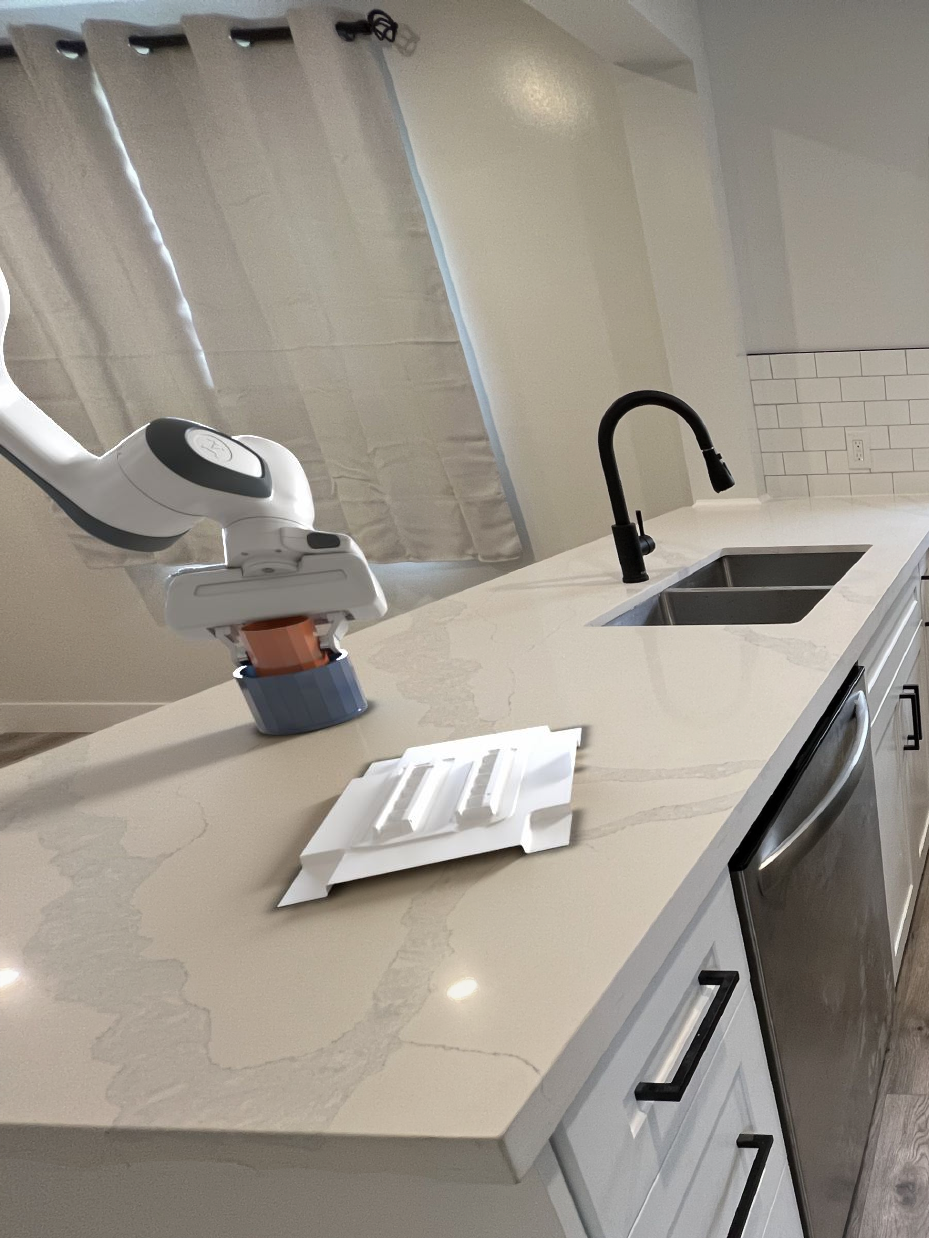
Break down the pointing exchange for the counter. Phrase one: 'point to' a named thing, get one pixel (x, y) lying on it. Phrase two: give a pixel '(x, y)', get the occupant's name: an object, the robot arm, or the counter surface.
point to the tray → (445, 807)
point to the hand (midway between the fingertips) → (288, 657)
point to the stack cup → (303, 696)
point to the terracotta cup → (283, 645)
